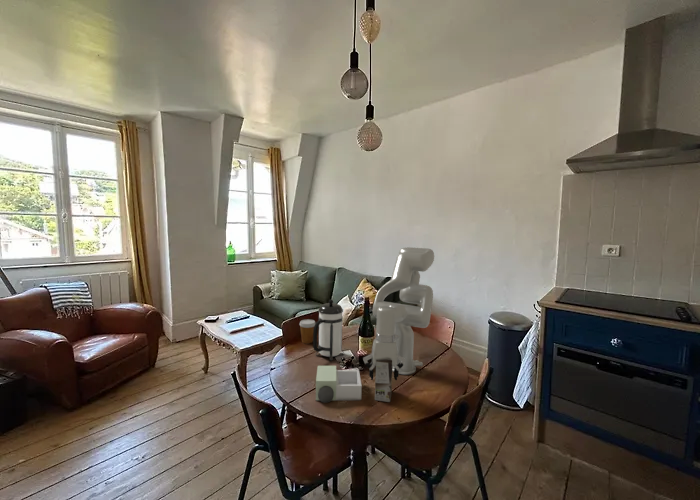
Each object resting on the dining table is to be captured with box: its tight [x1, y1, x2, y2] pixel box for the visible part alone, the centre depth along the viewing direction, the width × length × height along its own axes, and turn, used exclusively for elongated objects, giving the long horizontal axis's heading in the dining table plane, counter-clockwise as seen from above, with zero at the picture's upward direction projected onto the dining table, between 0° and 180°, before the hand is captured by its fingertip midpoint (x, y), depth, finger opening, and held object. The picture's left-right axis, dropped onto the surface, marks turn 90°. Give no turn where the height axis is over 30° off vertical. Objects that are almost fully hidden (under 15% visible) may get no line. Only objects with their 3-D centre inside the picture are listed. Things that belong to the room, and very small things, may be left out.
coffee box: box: [374, 360, 393, 403], centre depth 125 cm, size 9×6×16 cm
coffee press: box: [312, 299, 345, 362], centre depth 160 cm, size 17×16×30 cm
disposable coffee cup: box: [298, 318, 316, 344], centre depth 180 cm, size 10×10×12 cm
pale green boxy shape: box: [315, 365, 362, 404], centre depth 128 cm, size 18×16×8 cm
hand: (383, 378), depth 125 cm, fingers open, 9 cm apart
